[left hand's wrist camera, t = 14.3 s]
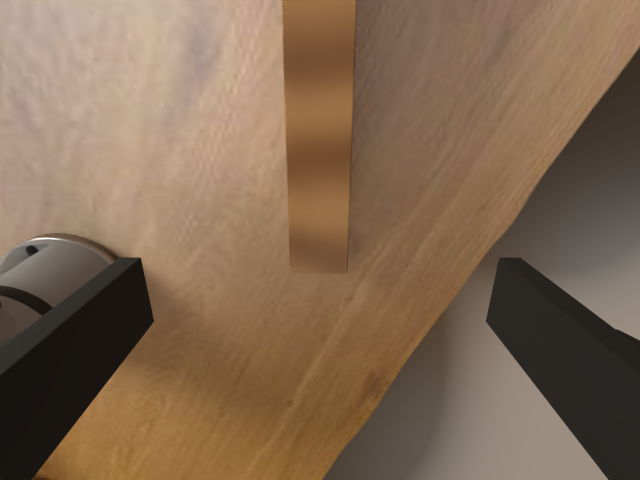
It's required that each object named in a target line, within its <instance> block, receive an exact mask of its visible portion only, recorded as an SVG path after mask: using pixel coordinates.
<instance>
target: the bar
mask: <svg viewBox="0 0 640 480" xmlns="http://www.w3.org/2000/svg"><path fill="white" fill-rule="evenodd" d="M281 4H282V34H283V64H284V95H285V125H286V155H287V185H288V216H289V246H290V273H291V274H347V267H348V238H349V209H350V180H351V151H352V122H353V92H354V63H355V34H356V5H357V0H281Z"/></svg>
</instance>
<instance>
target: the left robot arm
mask: <svg viewBox="0 0 640 480" xmlns="http://www.w3.org/2000/svg"><path fill="white" fill-rule="evenodd" d="M153 322H154V319H153V314H152V309H151V305H150V300H149V295H148V290H147V285H146V281H145V276H144V271H143V266H142V261H141V258H119V259H117V258H116V257H115V256H114V255H113V254H111V253H110V252H109V251H107V250H106V249H104V248H103V247H101V246H100V245H98V244H96V243H94V242H92V241H89V240H87V239H84V238H81V237H78V236H74V235H68V234H45V235H40V236H37V237H34V238H31V239H29V240H27V241H25V242H23V243H21V244H18V245H17V246H15V247H13V248H12V249H11V250H9V251H8V252H7V253H6V254H4V255H3V256H2V257H1V258H0V480H32V478H33V477H34V476H35V475H36V473H37V472H38V471H39V469H40V468H41V467H42V466H43V464H44V463H45V462H46V460H47V459H48V458H49V456H50V455H51V454H52V453H53V451H54V450H55V449H56V447H57V446H58V445H59V444H60V442H61V441H62V440H63V438H64V437H65V436H66V434H67V433H68V432H69V431H70V429H71V428H72V427H73V425H74V424H75V423H76V422H77V420H78V419H79V418H80V416H81V415H82V414H83V413H84V411H85V410H86V409H87V407H88V406H89V405H90V403H91V402H92V401H93V400H94V398H95V397H96V396H97V394H98V393H99V392H100V391H101V389H102V388H103V387H104V385H105V384H106V383H107V381H108V380H109V379H110V378H111V376H112V375H113V374H114V372H115V371H116V370H117V369H118V367H119V366H120V365H121V363H122V362H123V361H124V360H125V358H126V357H127V356H128V354H129V353H130V352H131V350H132V349H133V348H134V347H135V345H136V344H137V343H138V341H139V340H140V339H141V338H142V336H143V335H144V334H145V332H146V331H147V330H148V329H149V327H150V326H151V325H152V323H153ZM486 322H487V323H488V325H489V326H490V327H491V329H492V330H493V331H494V332H495V334H496V335H497V336H498V337H499V339H500V340H501V341H502V343H503V344H504V345H505V347H506V348H507V349H508V350H509V352H510V353H511V354H512V356H513V357H514V358H515V360H516V361H517V362H518V363H519V365H520V366H521V367H522V369H523V370H524V371H525V372H526V374H527V375H528V376H529V378H530V379H531V380H532V381H533V383H534V384H535V385H536V387H537V388H538V389H539V390H540V392H541V393H542V394H543V396H544V397H545V398H546V399H547V401H548V402H549V403H550V405H551V406H552V407H553V409H554V410H555V411H556V413H557V414H558V415H559V416H560V418H561V419H562V420H563V422H564V423H565V424H566V425H567V427H568V428H569V429H570V431H571V432H572V433H573V434H574V436H575V437H576V438H577V440H578V441H579V442H580V443H581V445H582V446H583V447H584V449H585V450H586V451H587V453H588V454H589V455H590V456H591V458H592V459H593V460H594V462H595V463H596V464H597V465H598V467H599V468H600V469H601V471H602V472H603V473H604V475H605V476H606V477H607V478H608V480H640V340H637V339H636V338H634V337H632V336H630V335H628V334H626V333H624V332H622V331H620V330H615V329H614V328H613V327H611V326H610V325H609V324H607V323H606V322H605V321H603V320H602V319H601V318H599V317H598V316H597V315H596V314H594V313H593V312H592V311H590V310H589V309H588V308H586V307H585V306H584V305H582V304H581V303H580V302H578V301H577V300H576V299H574V298H573V297H572V296H570V295H569V294H568V293H566V292H565V291H564V290H562V289H561V288H560V287H558V286H557V285H556V284H554V283H553V282H552V281H550V280H549V279H548V278H546V277H545V276H544V275H542V274H541V273H540V272H538V271H537V270H536V269H534V268H533V267H532V266H531V265H529V264H528V263H527V262H525V261H524V260H522V259H521V258H499V261H498V266H497V271H496V276H495V281H494V285H493V290H492V295H491V300H490V305H489V309H488V314H487V319H486Z"/></svg>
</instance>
